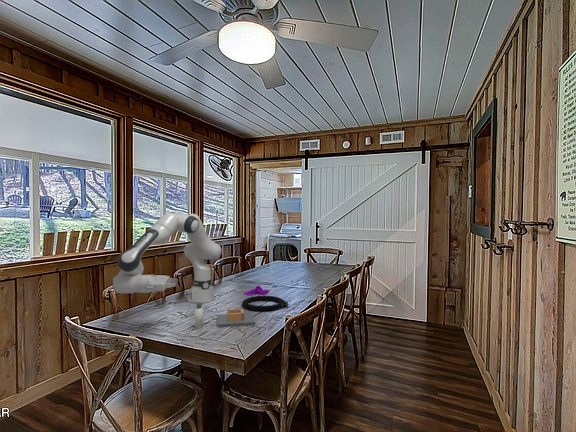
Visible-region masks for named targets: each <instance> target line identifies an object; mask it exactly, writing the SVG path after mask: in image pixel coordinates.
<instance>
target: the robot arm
mask: <svg viewBox="0 0 576 432" xmlns="http://www.w3.org/2000/svg"><path fill="white" fill-rule="evenodd" d="M175 231H176V232H179V233H186V234H187V237H188V240H189V242H190V243H187V244H186V245H185V246H184V248H183V254H184V255H185V257H186V258H187V259H188V260H189V261H190V263H191V264H192V267H193V274H194V275H193V281H192V286H191V287H190V288H189V290H187V295H186V296H185V298H186V300H187V302H188V303H194V304H195V303H196V304H197V302H201V304H205V303H210V302H213V301H214V300H215V299H217V297H216V295H215V290H214V286H213V285H212V284H213V283H212V281H213V280H212V268H211V266H210V265H209V264H207V263H206V262H205V260H217V259H219V258H220V257H221V255H222V247H221V245H220V244H218V243H216V242H214V240H212V239H211V238H210V237H209V236H208V235H207V232H206V230H205V226H204V224H203V222H202V220H201V219H200V217H199V215H197V214H196V213H190V214H188V213H180V212H176V211H171V212H166V213H164V214H163V215H162V216H161V217H159V218H158V219H157V221H155V223H154V224H153V225H152V226H151V227H150V228H149V229H148V230H146V231H145V232H144V233H143V234H142V235H141V236H140V237H139V239H137V240H136V241H135V242H134V244H132V246H130V247H129V248H128V249H126V250H125V251H122V252H121V253H120V254H119V256H118V257H117V266H118V267H119V268H120V271H119V272H118V274H116V276H114V277H113V278H112V288H113V290H114V291H115V293H117V294H134V293H138V294H139V293H140V294H149V293H152V292H164V291H165V290H166V289H169V288H174V287H176V285H177V283H178V282H179V279H178V278H172V277H170V275H160V274H159V275H158V274H156V275H155V273H153V274H144V268H145V267H144V264H143V262H142V255H143V254H144V253H145V252H146V251H147V250H148V248H150V246H151V245H152V244H156V245H162V244H166V243H167V241H168V240H170V238H171V237H172V236H173V234H174V232H175Z"/></svg>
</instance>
